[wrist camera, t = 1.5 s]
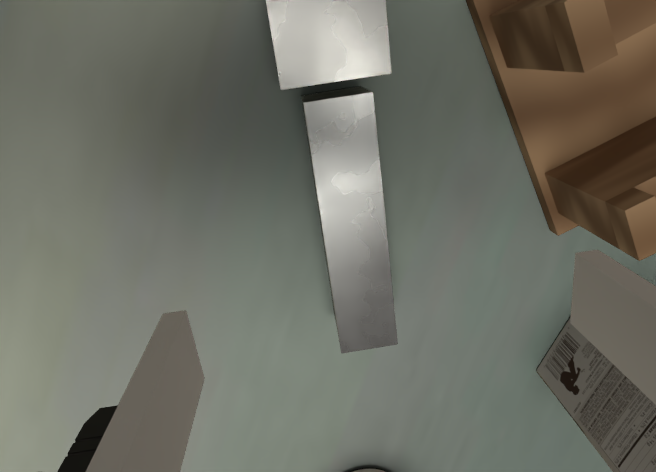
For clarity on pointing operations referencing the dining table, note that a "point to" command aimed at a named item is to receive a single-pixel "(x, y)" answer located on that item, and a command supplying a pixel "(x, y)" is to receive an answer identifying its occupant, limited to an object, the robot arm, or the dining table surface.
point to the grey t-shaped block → (343, 152)
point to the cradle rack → (581, 109)
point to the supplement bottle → (369, 470)
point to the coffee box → (602, 402)
